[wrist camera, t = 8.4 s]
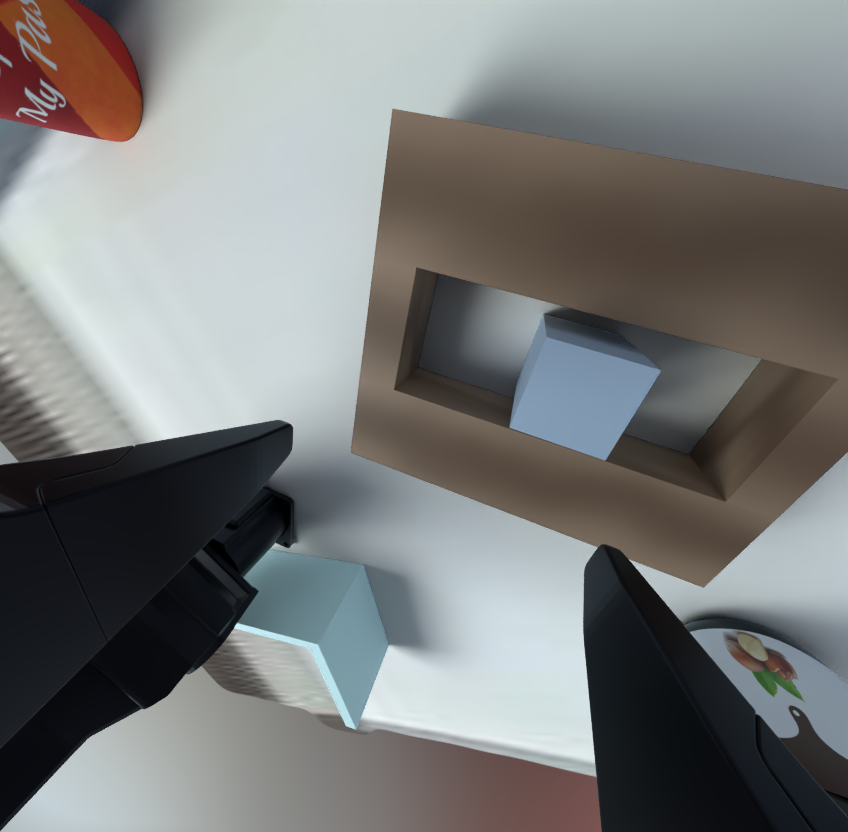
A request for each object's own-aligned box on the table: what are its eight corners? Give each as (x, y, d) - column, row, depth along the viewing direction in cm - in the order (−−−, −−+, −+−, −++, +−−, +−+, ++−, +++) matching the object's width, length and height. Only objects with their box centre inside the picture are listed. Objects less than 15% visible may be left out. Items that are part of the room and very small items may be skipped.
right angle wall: (266, 548, 35) (204, 614, 28) (363, 563, 31) (317, 644, 24) (300, 622, 39) (254, 693, 33) (389, 643, 35) (356, 729, 29)
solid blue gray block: (585, 403, 18) (605, 460, 13) (516, 382, 19) (509, 427, 14) (621, 335, 16) (661, 370, 11) (543, 313, 17) (546, 337, 12)
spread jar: (855, 651, 20) (1187, 1060, 10) (744, 728, 25) (883, 1043, 15) (641, 580, 22) (728, 846, 12) (581, 664, 27) (607, 898, 17)
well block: (674, 530, 20) (703, 587, 16) (378, 423, 23) (350, 452, 20) (925, 239, 12) (1082, 231, 9) (424, 142, 15) (392, 109, 12)
